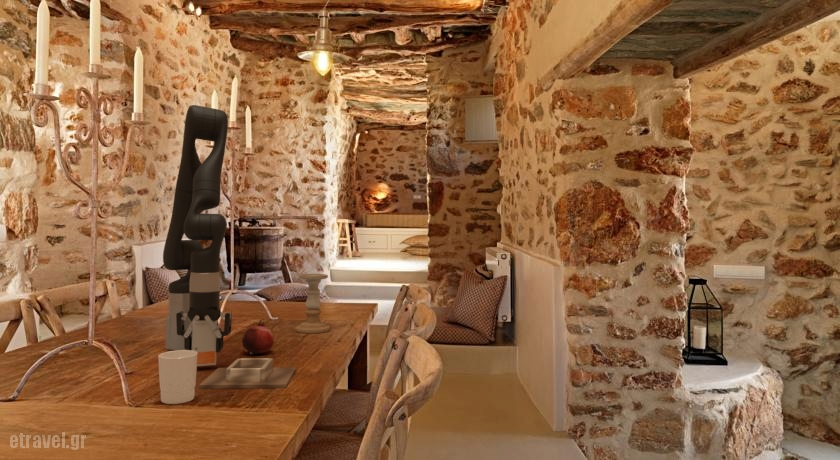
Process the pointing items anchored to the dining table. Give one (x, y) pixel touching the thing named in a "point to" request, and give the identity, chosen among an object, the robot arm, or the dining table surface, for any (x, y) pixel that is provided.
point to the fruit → (258, 339)
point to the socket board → (249, 375)
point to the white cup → (177, 376)
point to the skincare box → (204, 343)
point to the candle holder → (313, 306)
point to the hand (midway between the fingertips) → (203, 351)
